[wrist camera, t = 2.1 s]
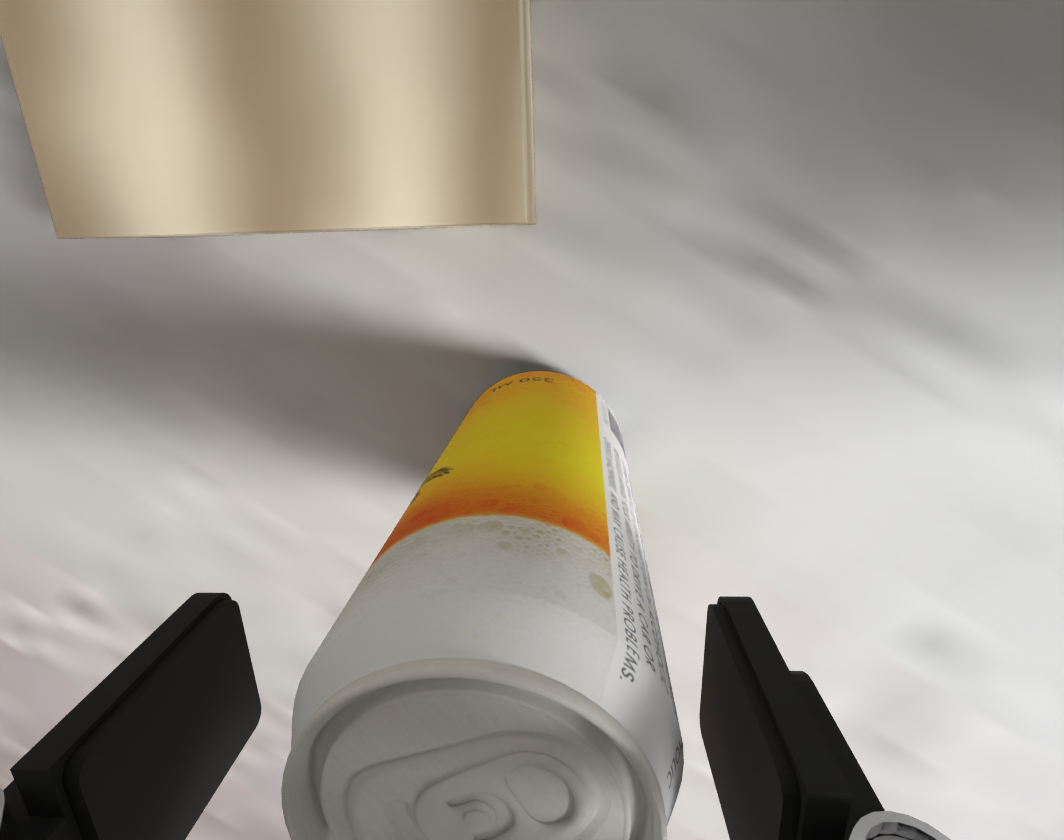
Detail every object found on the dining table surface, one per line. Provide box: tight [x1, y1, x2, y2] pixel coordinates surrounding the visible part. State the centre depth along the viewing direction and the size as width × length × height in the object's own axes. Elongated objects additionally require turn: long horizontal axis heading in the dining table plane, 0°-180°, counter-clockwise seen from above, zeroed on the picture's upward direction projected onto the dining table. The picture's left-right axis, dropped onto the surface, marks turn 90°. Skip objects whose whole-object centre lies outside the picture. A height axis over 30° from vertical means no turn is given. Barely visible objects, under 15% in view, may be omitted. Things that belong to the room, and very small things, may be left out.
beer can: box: [281, 371, 684, 840], centre depth 15 cm, size 6×6×15 cm
